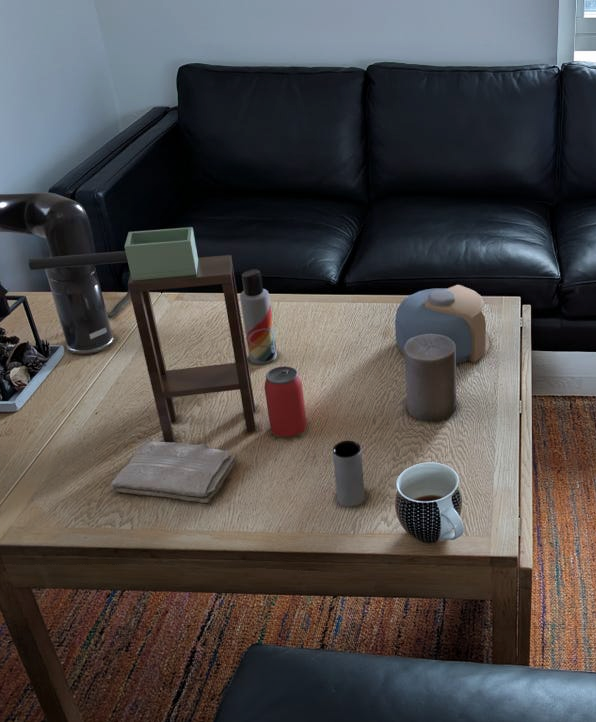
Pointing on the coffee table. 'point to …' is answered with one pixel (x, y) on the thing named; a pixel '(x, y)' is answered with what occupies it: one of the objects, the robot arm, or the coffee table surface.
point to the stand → (194, 378)
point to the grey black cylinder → (348, 473)
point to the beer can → (285, 402)
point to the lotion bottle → (257, 318)
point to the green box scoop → (140, 255)
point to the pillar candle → (430, 376)
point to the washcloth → (175, 471)
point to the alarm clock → (445, 319)
